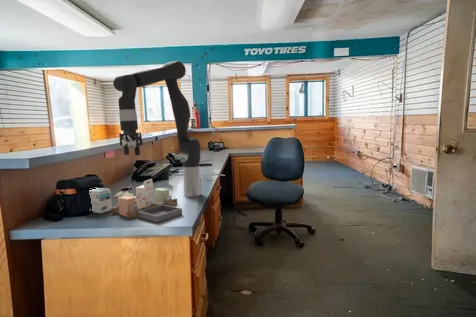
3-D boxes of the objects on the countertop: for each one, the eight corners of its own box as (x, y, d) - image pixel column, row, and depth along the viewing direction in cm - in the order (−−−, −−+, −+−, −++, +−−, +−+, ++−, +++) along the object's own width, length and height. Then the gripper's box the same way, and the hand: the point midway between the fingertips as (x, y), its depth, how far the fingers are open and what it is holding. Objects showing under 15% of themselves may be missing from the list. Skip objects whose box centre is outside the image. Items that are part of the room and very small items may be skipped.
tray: (162, 210, 137) (162, 204, 136) (182, 214, 129) (181, 208, 128) (138, 218, 126) (137, 211, 125) (157, 223, 118) (157, 216, 117)
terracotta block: (127, 212, 135) (126, 195, 135) (136, 214, 131) (134, 197, 130) (119, 214, 132) (118, 197, 131) (128, 216, 128) (127, 199, 127)
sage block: (161, 202, 151) (160, 187, 151) (169, 204, 147) (168, 189, 146) (154, 204, 148) (153, 189, 147) (163, 206, 144) (162, 190, 143)
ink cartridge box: (145, 206, 144) (144, 178, 143) (154, 206, 143) (153, 178, 142) (136, 211, 136) (134, 181, 134) (146, 211, 135) (144, 181, 133)
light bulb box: (112, 209, 140) (111, 188, 139) (101, 213, 134) (99, 191, 133) (97, 207, 144) (95, 187, 143) (85, 211, 138) (83, 189, 137)
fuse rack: (159, 200, 155) (159, 191, 155) (177, 204, 147) (176, 194, 146) (111, 214, 133) (110, 203, 132) (128, 219, 124) (128, 208, 124)
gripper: (145, 119, 129) (148, 154, 131) (126, 120, 137) (130, 153, 139) (130, 119, 123) (134, 156, 125) (112, 120, 131) (116, 155, 133)
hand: (132, 155), depth 132 cm, fingers open, 8 cm apart
